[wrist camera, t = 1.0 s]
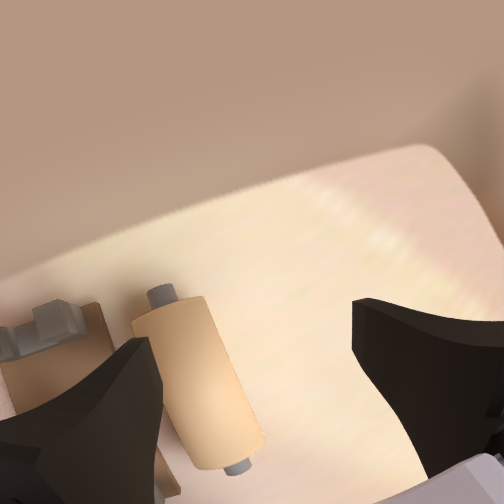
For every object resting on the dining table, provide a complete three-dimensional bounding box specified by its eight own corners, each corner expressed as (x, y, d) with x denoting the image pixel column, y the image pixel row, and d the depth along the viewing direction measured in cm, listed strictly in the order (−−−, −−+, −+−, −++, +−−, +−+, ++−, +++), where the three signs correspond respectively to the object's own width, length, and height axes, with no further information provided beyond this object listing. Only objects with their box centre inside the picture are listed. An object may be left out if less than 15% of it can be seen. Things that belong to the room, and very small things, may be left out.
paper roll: (269, 443, 20) (280, 470, 15) (206, 466, 19) (201, 496, 14) (199, 281, 23) (190, 267, 18) (135, 305, 22) (111, 298, 17)
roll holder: (181, 488, 18) (177, 520, 13) (73, 510, 16) (51, 537, 11) (99, 304, 21) (74, 292, 16) (0, 341, 19) (-37, 337, 14)
